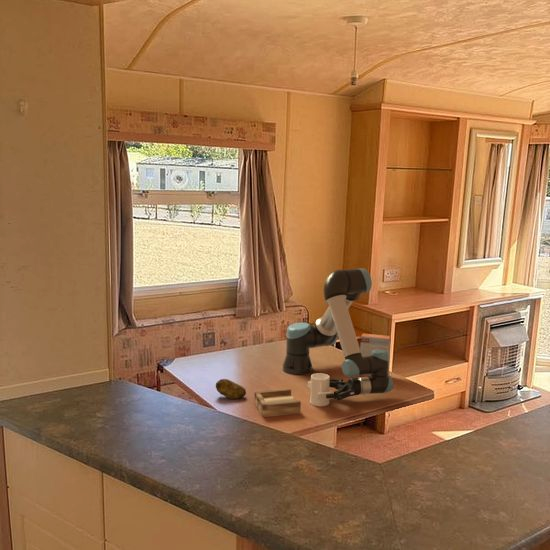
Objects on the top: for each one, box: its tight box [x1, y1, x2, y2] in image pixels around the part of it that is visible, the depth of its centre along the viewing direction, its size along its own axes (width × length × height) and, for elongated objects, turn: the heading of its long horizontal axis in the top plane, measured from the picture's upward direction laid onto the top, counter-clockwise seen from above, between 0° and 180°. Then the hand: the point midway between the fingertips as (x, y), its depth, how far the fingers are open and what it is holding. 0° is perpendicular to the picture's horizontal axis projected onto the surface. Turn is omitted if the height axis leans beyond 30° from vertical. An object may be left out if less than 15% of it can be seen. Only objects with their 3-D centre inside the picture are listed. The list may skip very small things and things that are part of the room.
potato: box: [215, 378, 247, 400], centre depth 249 cm, size 8×13×8 cm, turn 68°
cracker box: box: [359, 332, 392, 377], centre depth 277 cm, size 14×6×21 cm, turn 71°
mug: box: [309, 372, 331, 407], centre depth 243 cm, size 12×8×12 cm
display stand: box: [254, 388, 302, 418], centre depth 239 cm, size 15×16×5 cm
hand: (312, 390), depth 242 cm, fingers open, 13 cm apart
